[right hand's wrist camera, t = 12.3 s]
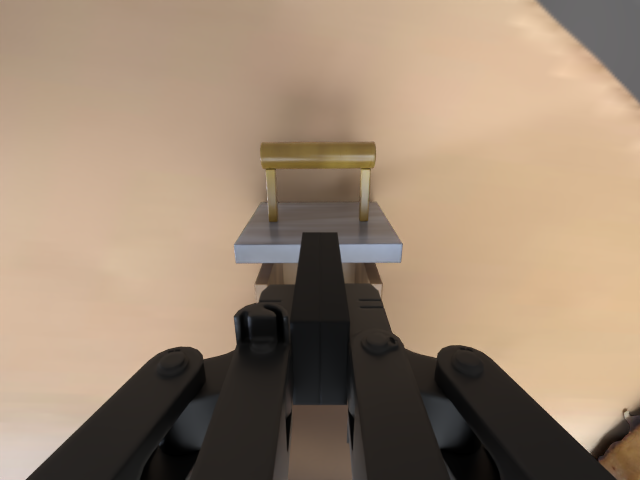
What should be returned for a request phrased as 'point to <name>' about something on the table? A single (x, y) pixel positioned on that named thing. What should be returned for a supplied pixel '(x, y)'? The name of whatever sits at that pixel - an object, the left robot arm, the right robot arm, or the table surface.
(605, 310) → the table surface
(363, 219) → the drawer
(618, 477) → the bread
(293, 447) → the cabinet
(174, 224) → the table surface
